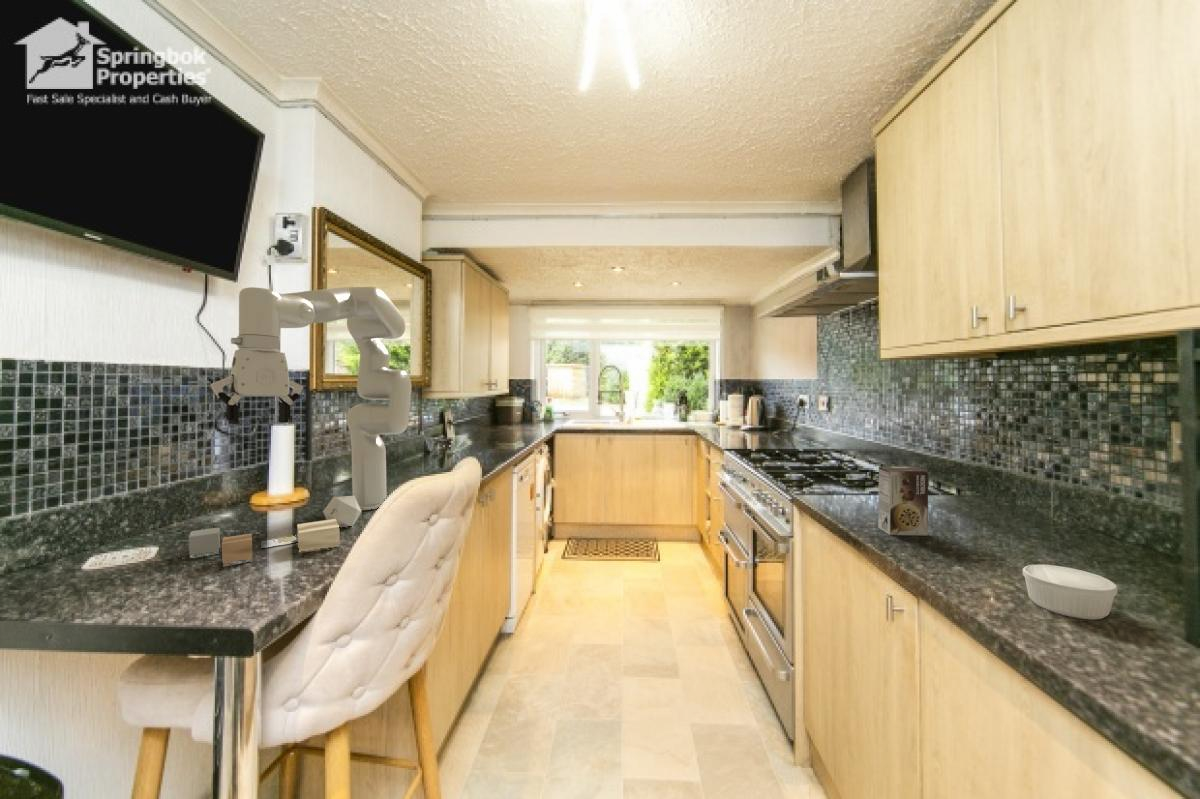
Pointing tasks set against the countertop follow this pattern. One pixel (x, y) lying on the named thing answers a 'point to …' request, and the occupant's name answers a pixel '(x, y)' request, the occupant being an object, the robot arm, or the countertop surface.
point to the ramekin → (1069, 591)
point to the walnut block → (237, 548)
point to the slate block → (204, 541)
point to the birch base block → (318, 535)
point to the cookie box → (903, 500)
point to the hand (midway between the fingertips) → (259, 423)
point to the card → (286, 539)
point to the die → (343, 510)
